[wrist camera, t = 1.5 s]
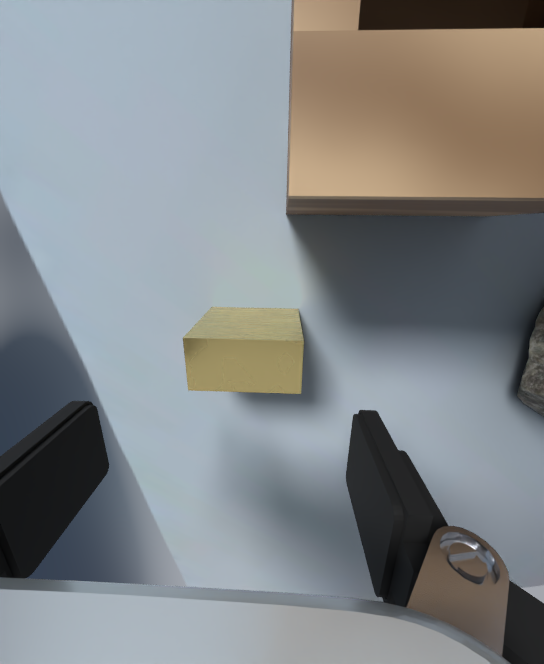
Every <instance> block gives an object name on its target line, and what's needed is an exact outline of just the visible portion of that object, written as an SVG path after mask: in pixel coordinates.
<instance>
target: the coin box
mask: <svg viewBox="0 0 544 664" xmlns="http://www.w3.org/2000/svg"><path fill="white" fill-rule="evenodd" d="M531 213H544V0H292V13H291V51H290V89H289V126H288V164H287V202H286V214H298V215H394V216H501V215H516V214H531Z"/></svg>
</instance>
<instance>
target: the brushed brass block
mask: <svg viewBox="0 0 544 664" xmlns="http://www.w3.org/2000/svg"><path fill="white" fill-rule="evenodd" d="M183 344H184V353H185V363H186V373H187V382H188V390H195V391H226V392H257V393H288V394H301V385H302V367H303V348H304V339H303V333H302V328H301V322H300V316H299V311H298V309H282V308H236V307H211V308H210V309H209V310H208V312H207V313H206V314H205V315H204V316H203V317H202V318H201V319H200V320H199V321H198V322H197V323H196V324H195V325H194V327H193V328H192V329H191V330H190V331H189V332H188V333H187V334H186V335H185V336H184V337H183Z"/></svg>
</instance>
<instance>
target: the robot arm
mask: <svg viewBox="0 0 544 664" xmlns="http://www.w3.org/2000/svg"><path fill="white" fill-rule="evenodd" d="M108 468H109V462H108V457H107V453H106V448H105V443H104V439H103V434H102V430H101V425H100V420H99V416H98V411H97V408H96V406H93V404H92V403H91V402H89V401H72V402H70V403H69V404H67V405H66V406H65V407H63V408H62V409H61V410H59V411H58V412H57V413H56V414H54V415H53V416H52V417H51V418H49V419H48V420H47V421H46V422H44V423H43V424H41V425H40V426H39V427H38V428H36V429H35V430H34V431H32V432H31V433H30V434H29V435H27V436H26V437H25V438H23V439H22V440H21V441H20V442H19V443H17V444H16V445H14V446H13V447H12V448H10V449H9V450H8V451H7V452H5V453H4V454H3V455H2V456H0V664H544V603H542V602H541V601H539V600H538V599H536V598H535V597H533V596H532V595H530V594H529V593H527V592H526V591H524V590H523V589H521V588H520V587H519V586H517V585H516V584H514V583H513V582H511V581H510V580H509V575H508V570H507V568H506V566H505V564H504V562H503V560H502V559H501V557H500V556H499V555H498V553H497V552H496V551H495V550H494V549H493V548H492V547H491V546H490V545H489V544H488V543H487V542H486V541H485V540H483V539H482V538H480V537H479V536H477V535H476V534H474V533H472V532H470V531H468V530H466V529H463V528H460V527H455V526H448V524H447V522H446V521H445V519H444V517H443V515H442V514H441V512H440V510H439V508H438V507H437V505H436V503H435V501H434V500H433V498H432V496H431V494H430V493H429V491H428V489H427V487H426V486H425V484H424V482H423V480H422V479H421V477H420V475H419V473H418V472H417V470H416V468H415V466H414V465H413V463H412V461H411V459H410V458H409V456H408V455H407V453H406V452H405V451H400V450H398V449H397V447H396V446H395V444H394V442H393V440H392V438H391V436H390V434H389V433H388V431H387V429H386V427H385V425H384V423H383V421H382V420H381V418H380V416H379V414H378V412H377V411H373V410H360V411H359V413H358V414H354V415H353V421H352V429H351V438H350V446H349V454H348V462H347V471H346V482H347V487H348V491H349V494H350V498H351V502H352V506H353V510H354V514H355V518H356V522H357V526H358V529H359V533H360V537H361V541H362V545H363V549H364V553H365V557H366V561H367V564H368V568H369V572H370V576H371V580H372V584H373V588H374V591H375V594H376V596H377V597H382V598H383V601H384V602H377V601H370V600H363V599H355V598H346V597H334V596H321V595H309V594H297V593H283V592H266V591H249V590H232V589H216V588H199V587H180V586H163V585H144V584H125V583H106V582H87V581H65V580H45V579H25V578H27V577H29V576H30V575H31V574H32V573H33V572H34V571H35V570H36V568H37V567H38V566H39V564H40V563H41V561H42V560H43V559H44V557H45V556H46V555H47V553H48V552H49V551H50V549H51V548H52V546H53V545H54V544H55V543H56V541H57V540H58V539H59V537H60V536H61V535H62V533H63V532H64V530H65V529H66V528H67V527H68V525H69V523H71V521H72V520H73V519H74V517H75V516H76V515H77V513H78V512H79V510H80V509H81V508H82V506H83V505H84V504H85V502H86V501H87V500H88V498H89V497H90V496H91V494H92V493H93V492H94V490H95V489H96V488H97V486H98V485H99V484H100V482H101V481H102V479H103V478H104V477H105V476H106V474H107V472H108Z"/></svg>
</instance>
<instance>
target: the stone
mask: <svg viewBox="0 0 544 664" xmlns="http://www.w3.org/2000/svg"><path fill="white" fill-rule="evenodd" d="M517 396H518V398H519V399H520V400H522V402H523V403H524V404H525V405H527V406H529V407H530V408H532V409H533V410H534V411H535V412H537V413H539V414H540V415H542V416H543V417H544V307H543V308H542V310H541V311H540V313H539V315H538V317H537V319H536V322H535V328H534V330H533V332H532V335H531V338H530V342H529V359H528V361H527V364H526V367H525V369H524V371H523V376H522V380H521V384H520V386H519V389H518V393H517Z"/></svg>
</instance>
